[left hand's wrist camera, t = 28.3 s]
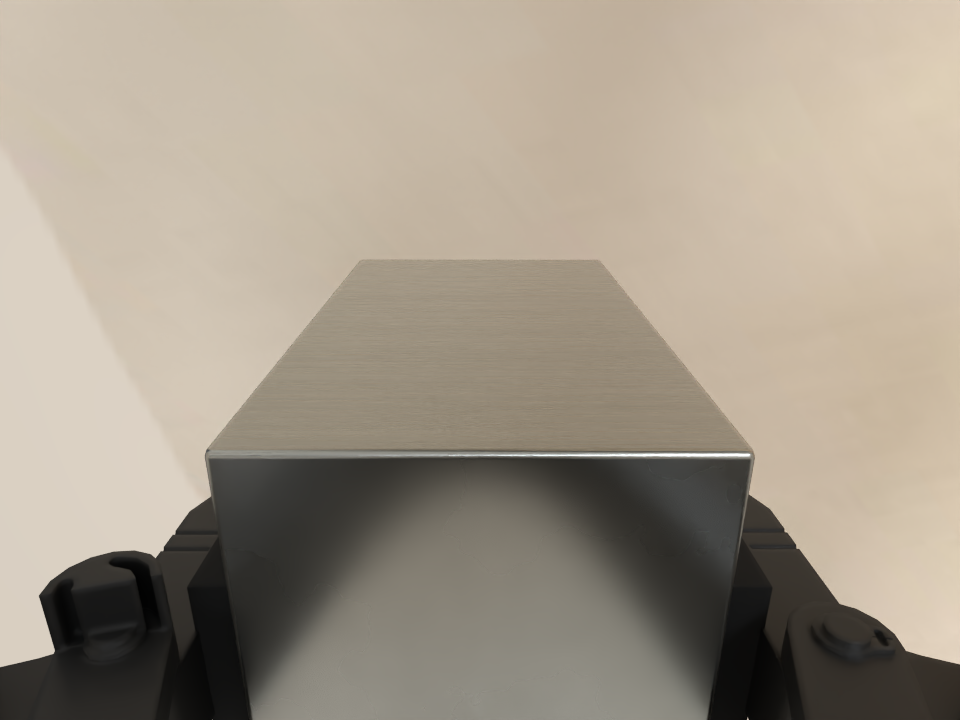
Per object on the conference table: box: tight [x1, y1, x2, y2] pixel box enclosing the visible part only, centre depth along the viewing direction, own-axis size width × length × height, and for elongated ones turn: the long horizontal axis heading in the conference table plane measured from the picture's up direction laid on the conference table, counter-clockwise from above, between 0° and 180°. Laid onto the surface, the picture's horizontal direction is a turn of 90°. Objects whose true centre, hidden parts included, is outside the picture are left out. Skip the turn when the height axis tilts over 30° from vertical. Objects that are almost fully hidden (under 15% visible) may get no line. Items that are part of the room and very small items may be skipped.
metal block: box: [205, 260, 755, 720], centre depth 12 cm, size 7×6×9 cm
